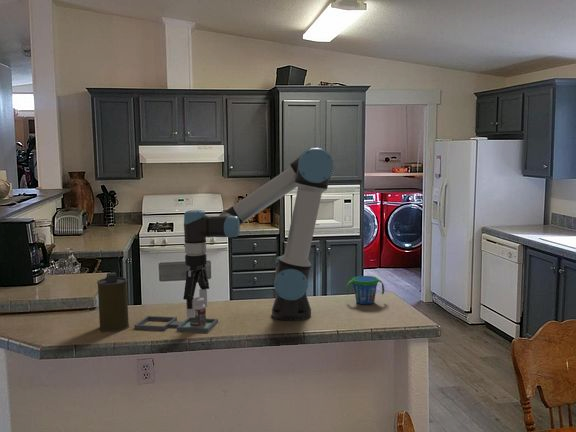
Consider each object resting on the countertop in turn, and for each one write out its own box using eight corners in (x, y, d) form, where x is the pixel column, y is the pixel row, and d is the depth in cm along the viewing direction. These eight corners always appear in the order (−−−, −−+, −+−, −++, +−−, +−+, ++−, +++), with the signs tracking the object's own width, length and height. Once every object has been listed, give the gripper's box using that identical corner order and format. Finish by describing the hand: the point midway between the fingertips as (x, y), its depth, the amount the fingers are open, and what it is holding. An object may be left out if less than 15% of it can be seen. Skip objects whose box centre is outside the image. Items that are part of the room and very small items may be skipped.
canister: (132, 328, 207) (130, 274, 204) (102, 333, 202) (99, 277, 199) (125, 321, 216) (122, 268, 214) (96, 325, 211) (93, 272, 209)
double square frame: (218, 322, 213) (218, 318, 213) (208, 332, 202) (208, 328, 201) (147, 319, 218) (147, 315, 218) (134, 328, 207) (134, 325, 206)
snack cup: (346, 305, 233) (346, 281, 232) (345, 299, 244) (345, 275, 243) (385, 306, 232) (385, 281, 231) (383, 299, 242) (383, 275, 241)
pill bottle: (202, 328, 205) (202, 301, 204) (187, 327, 206) (186, 300, 205) (208, 323, 211) (207, 297, 209) (193, 322, 212) (192, 296, 211)
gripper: (197, 247, 218) (198, 302, 221) (172, 260, 194) (174, 321, 196) (216, 247, 217) (217, 302, 219) (193, 260, 192) (195, 322, 195)
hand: (197, 311), depth 208 cm, fingers open, 13 cm apart
